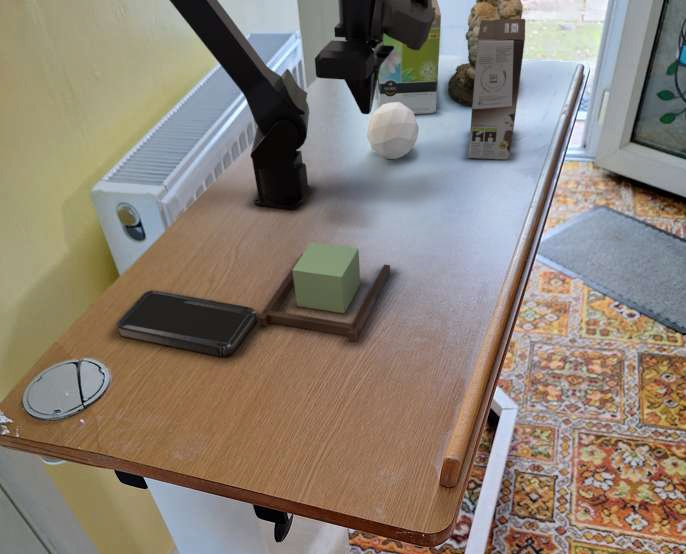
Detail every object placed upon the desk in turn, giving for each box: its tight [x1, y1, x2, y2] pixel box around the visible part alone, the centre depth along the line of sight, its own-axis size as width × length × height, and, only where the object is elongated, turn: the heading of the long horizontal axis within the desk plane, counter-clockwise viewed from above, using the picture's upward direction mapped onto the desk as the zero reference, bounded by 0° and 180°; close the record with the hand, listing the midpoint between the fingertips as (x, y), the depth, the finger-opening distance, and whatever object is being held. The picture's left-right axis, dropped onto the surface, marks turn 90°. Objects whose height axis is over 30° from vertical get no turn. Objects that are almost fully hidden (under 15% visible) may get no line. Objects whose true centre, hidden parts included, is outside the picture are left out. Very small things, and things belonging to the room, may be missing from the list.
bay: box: [258, 253, 391, 342], centre depth 80 cm, size 12×14×1 cm
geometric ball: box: [366, 102, 420, 160], centre depth 101 cm, size 8×8×8 cm
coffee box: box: [467, 18, 526, 160], centre depth 98 cm, size 9×6×16 cm
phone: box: [116, 289, 258, 357], centre depth 78 cm, size 8×1×15 cm
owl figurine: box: [447, 0, 524, 107], centre depth 113 cm, size 18×12×17 cm, turn 170°
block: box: [291, 241, 361, 314], centre depth 79 cm, size 6×6×5 cm
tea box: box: [377, 0, 442, 115], centre depth 113 cm, size 15×10×15 cm
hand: (366, 113), depth 88 cm, fingers closed
